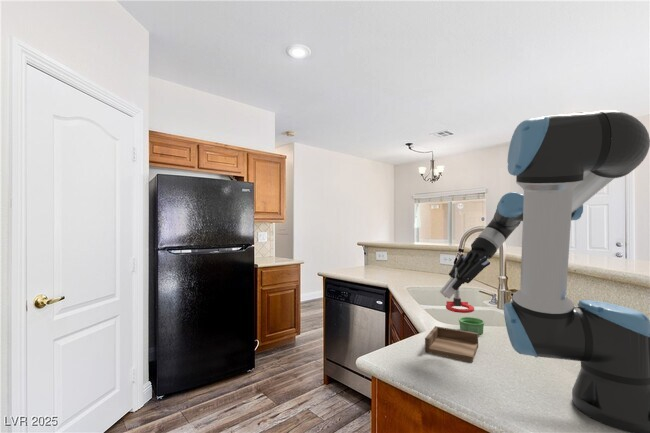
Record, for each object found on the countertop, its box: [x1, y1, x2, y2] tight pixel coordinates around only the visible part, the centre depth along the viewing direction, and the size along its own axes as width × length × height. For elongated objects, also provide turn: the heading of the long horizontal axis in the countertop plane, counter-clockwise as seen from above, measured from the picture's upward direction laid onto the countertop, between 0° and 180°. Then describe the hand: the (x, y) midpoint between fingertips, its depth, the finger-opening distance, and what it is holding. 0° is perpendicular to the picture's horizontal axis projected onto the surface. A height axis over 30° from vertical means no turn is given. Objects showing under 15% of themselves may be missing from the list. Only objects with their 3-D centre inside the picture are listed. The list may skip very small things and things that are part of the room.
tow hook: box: [445, 268, 475, 314], centre depth 100 cm, size 8×13×9 cm
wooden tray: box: [424, 325, 479, 363], centre depth 103 cm, size 14×14×4 cm
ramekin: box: [458, 316, 485, 336], centre depth 120 cm, size 9×9×4 cm
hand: (444, 295), depth 103 cm, fingers closed on tow hook
